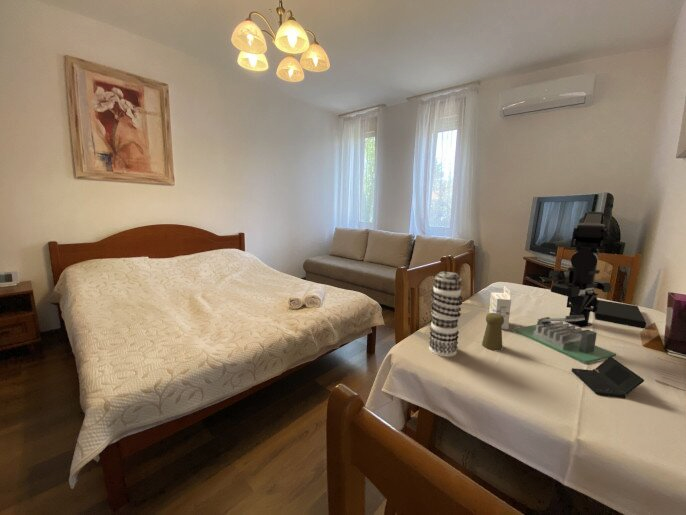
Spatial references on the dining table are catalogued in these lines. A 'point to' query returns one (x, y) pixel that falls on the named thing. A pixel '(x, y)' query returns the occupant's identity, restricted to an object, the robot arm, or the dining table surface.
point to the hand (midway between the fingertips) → (576, 313)
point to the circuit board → (571, 352)
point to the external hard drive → (620, 314)
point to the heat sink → (565, 336)
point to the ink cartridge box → (501, 305)
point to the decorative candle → (445, 314)
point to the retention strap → (568, 318)
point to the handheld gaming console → (609, 379)
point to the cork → (493, 332)
